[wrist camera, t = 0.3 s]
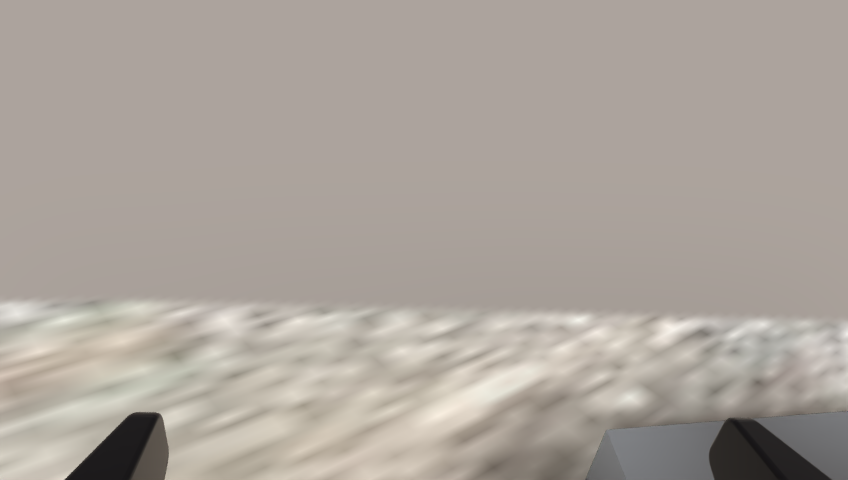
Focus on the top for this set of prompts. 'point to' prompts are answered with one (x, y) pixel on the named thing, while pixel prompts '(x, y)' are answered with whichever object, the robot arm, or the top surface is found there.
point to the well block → (690, 443)
